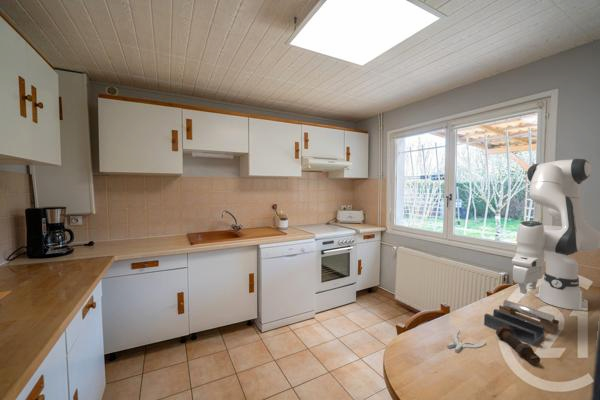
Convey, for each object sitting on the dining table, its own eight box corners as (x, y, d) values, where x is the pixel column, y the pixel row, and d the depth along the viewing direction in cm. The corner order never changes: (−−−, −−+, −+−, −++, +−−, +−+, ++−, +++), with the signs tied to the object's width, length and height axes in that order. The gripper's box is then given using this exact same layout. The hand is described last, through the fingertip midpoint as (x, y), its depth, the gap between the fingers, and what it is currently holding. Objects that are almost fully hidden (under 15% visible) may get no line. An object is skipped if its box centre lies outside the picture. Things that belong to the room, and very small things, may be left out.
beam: (504, 311, 116) (505, 302, 116) (558, 330, 101) (559, 320, 100) (498, 314, 113) (499, 305, 113) (553, 334, 98) (553, 324, 97)
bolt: (532, 371, 81) (500, 341, 96) (547, 365, 80) (512, 335, 95) (524, 356, 81) (493, 328, 96) (539, 349, 80) (505, 323, 95)
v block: (495, 318, 109) (495, 308, 109) (544, 337, 96) (544, 326, 95) (484, 325, 104) (484, 314, 104) (533, 346, 91) (534, 334, 90)
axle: (503, 308, 113) (503, 300, 113) (506, 306, 115) (506, 299, 114) (551, 325, 99) (551, 316, 99) (554, 322, 101) (554, 314, 101)
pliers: (486, 340, 92) (467, 354, 84) (486, 344, 92) (466, 359, 84) (458, 327, 100) (438, 339, 92) (458, 331, 100) (437, 343, 92)
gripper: (529, 254, 113) (528, 284, 114) (509, 260, 103) (508, 292, 104) (548, 258, 108) (547, 289, 108) (529, 264, 98) (527, 298, 98)
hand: (528, 291), depth 106 cm, fingers open, 8 cm apart
